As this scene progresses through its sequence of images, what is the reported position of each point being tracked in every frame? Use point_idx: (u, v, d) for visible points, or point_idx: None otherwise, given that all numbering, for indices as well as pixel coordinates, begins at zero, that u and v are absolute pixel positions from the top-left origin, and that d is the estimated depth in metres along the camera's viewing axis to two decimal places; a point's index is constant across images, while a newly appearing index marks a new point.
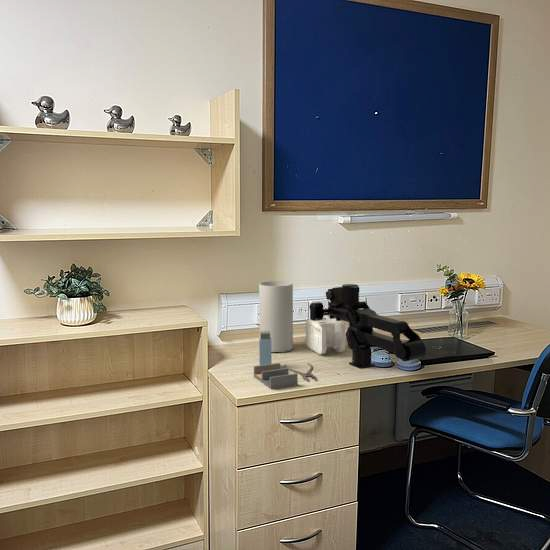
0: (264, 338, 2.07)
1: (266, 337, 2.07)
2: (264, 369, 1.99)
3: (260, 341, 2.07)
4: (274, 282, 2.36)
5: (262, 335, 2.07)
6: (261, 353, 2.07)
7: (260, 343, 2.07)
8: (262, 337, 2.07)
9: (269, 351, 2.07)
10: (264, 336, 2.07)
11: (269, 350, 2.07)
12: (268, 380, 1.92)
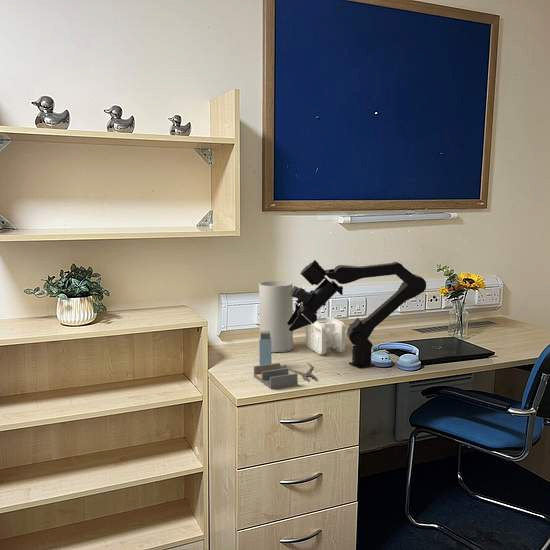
0: (264, 338, 2.07)
1: (266, 337, 2.07)
2: (264, 369, 1.99)
3: (260, 341, 2.07)
4: (274, 282, 2.36)
5: (262, 335, 2.07)
6: (261, 353, 2.07)
7: (260, 343, 2.07)
8: (262, 337, 2.07)
9: (269, 351, 2.07)
10: (264, 336, 2.07)
11: (269, 350, 2.07)
12: (268, 380, 1.92)
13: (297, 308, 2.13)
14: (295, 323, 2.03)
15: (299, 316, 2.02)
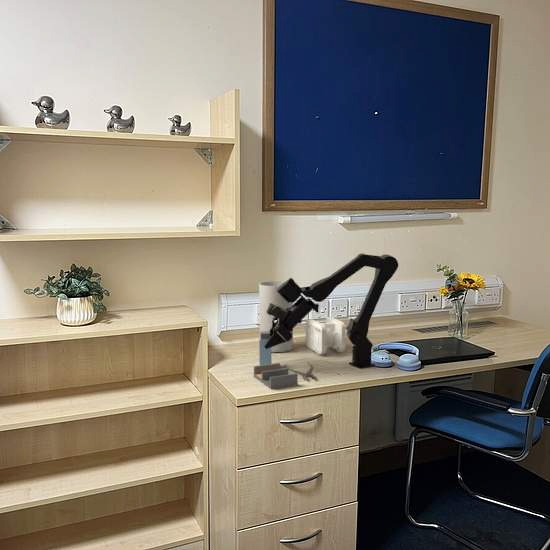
0: (264, 338, 2.07)
1: (266, 337, 2.07)
2: (264, 369, 1.99)
3: (260, 341, 2.07)
4: (274, 282, 2.36)
5: (262, 335, 2.07)
6: (261, 353, 2.07)
7: (260, 343, 2.07)
8: (262, 337, 2.07)
9: (269, 351, 2.07)
10: (264, 336, 2.07)
11: (269, 350, 2.07)
12: (268, 380, 1.92)
13: (274, 325, 2.13)
14: (271, 340, 2.03)
15: (274, 334, 2.02)
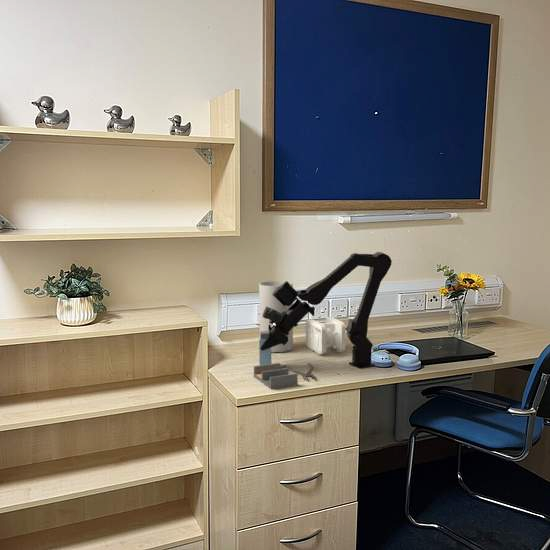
0: (264, 338, 2.07)
1: (266, 337, 2.07)
2: (264, 369, 1.99)
3: (260, 341, 2.07)
4: (274, 282, 2.36)
5: (262, 335, 2.07)
6: (261, 353, 2.07)
7: (260, 343, 2.07)
8: (262, 337, 2.07)
9: (269, 351, 2.07)
10: (264, 336, 2.07)
11: (269, 350, 2.07)
12: (268, 380, 1.92)
13: (270, 330, 2.11)
14: (267, 342, 2.06)
15: (270, 336, 2.05)
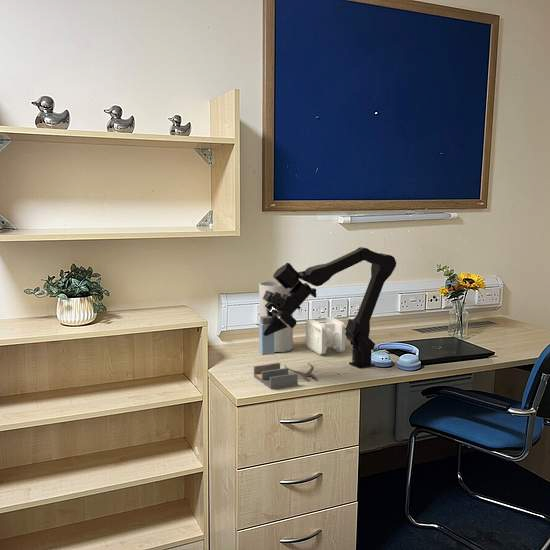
0: (267, 323, 1.98)
1: (269, 322, 1.98)
2: (264, 369, 1.99)
3: (263, 326, 1.98)
4: (274, 282, 2.36)
5: (265, 320, 1.98)
6: (264, 339, 1.98)
7: (263, 328, 1.98)
8: (265, 322, 1.98)
9: (272, 336, 1.99)
10: (267, 321, 1.98)
11: (272, 335, 1.99)
12: (268, 380, 1.92)
13: (270, 314, 2.03)
14: (271, 327, 1.97)
15: (275, 320, 1.96)
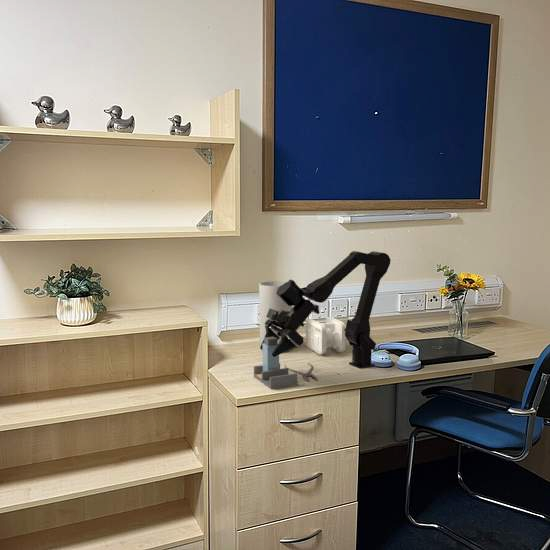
0: (272, 344, 1.94)
1: (273, 343, 1.95)
2: None
3: (268, 348, 1.94)
4: (274, 282, 2.36)
5: (270, 341, 1.94)
6: (269, 360, 1.94)
7: (268, 350, 1.94)
8: (270, 343, 1.94)
9: (277, 357, 1.95)
10: (272, 342, 1.94)
11: (277, 356, 1.95)
12: (268, 380, 1.92)
13: (269, 331, 2.01)
14: (280, 347, 1.91)
15: (284, 340, 1.90)
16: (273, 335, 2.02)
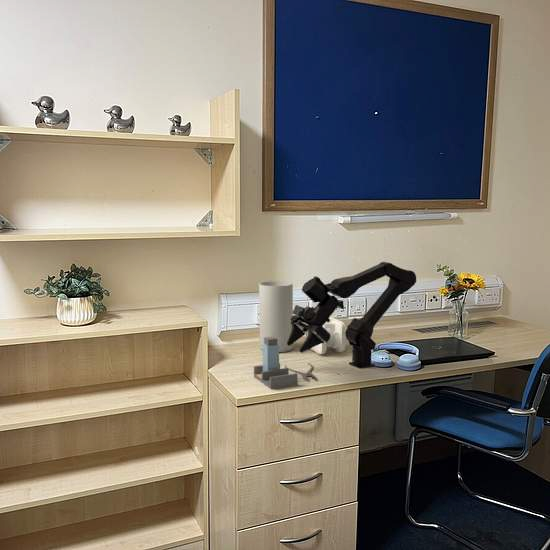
0: (272, 344, 1.94)
1: (273, 343, 1.95)
2: None
3: (268, 348, 1.94)
4: (274, 282, 2.36)
5: (270, 341, 1.94)
6: (269, 360, 1.94)
7: (268, 350, 1.94)
8: (270, 343, 1.94)
9: (277, 357, 1.95)
10: (272, 342, 1.94)
11: (277, 356, 1.95)
12: (268, 380, 1.92)
13: (295, 327, 2.05)
14: (307, 343, 1.95)
15: (311, 336, 1.95)
16: (299, 331, 2.06)
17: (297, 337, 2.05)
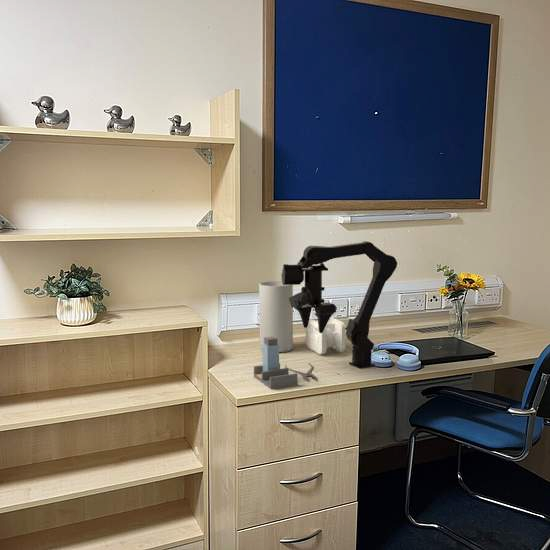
0: (272, 344, 1.94)
1: (273, 343, 1.95)
2: None
3: (268, 348, 1.94)
4: (274, 282, 2.36)
5: (270, 341, 1.94)
6: (269, 360, 1.94)
7: (268, 350, 1.94)
8: (270, 343, 1.94)
9: (277, 357, 1.95)
10: (272, 342, 1.94)
11: (277, 356, 1.95)
12: (268, 380, 1.92)
13: (301, 309, 2.09)
14: (321, 323, 2.01)
15: (320, 317, 2.00)
16: (306, 309, 2.10)
17: (308, 315, 2.11)
